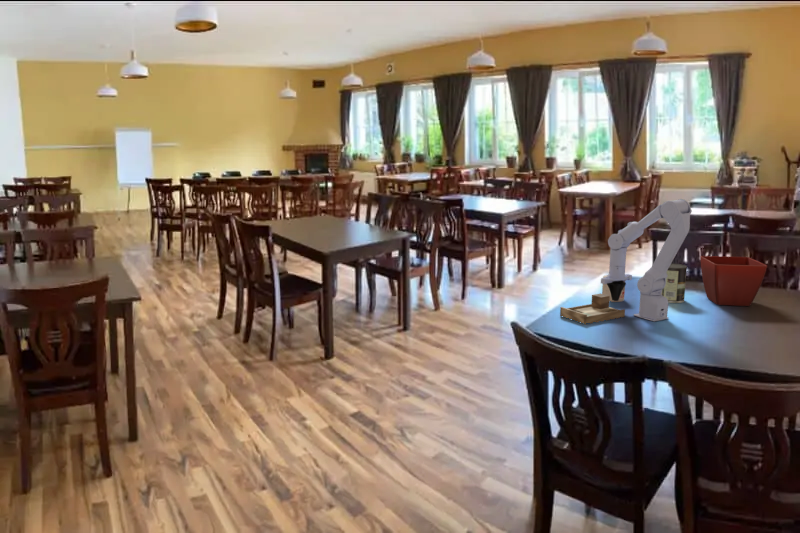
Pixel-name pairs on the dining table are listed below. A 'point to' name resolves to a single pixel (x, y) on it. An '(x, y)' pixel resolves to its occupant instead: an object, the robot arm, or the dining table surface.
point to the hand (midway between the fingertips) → (615, 300)
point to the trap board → (590, 313)
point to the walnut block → (600, 301)
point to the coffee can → (675, 283)
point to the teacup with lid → (607, 292)
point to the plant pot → (731, 279)
